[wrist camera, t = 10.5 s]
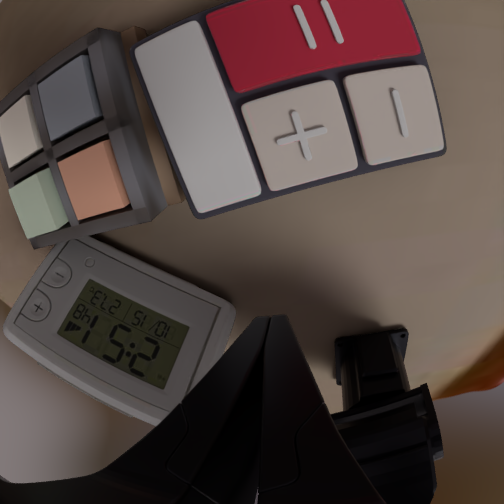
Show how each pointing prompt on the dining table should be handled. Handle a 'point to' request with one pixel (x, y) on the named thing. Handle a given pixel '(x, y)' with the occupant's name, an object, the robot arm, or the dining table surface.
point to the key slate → (70, 98)
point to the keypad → (102, 137)
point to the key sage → (38, 204)
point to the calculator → (287, 96)
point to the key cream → (20, 132)
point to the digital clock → (119, 327)
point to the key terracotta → (94, 181)
